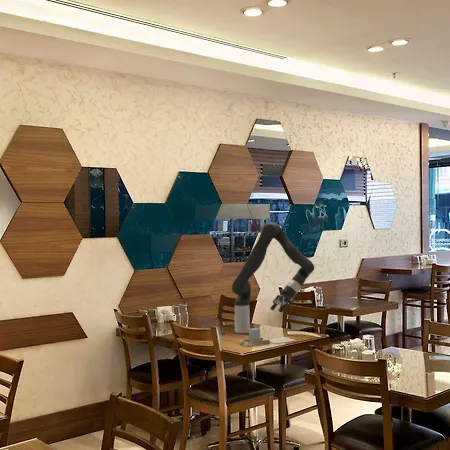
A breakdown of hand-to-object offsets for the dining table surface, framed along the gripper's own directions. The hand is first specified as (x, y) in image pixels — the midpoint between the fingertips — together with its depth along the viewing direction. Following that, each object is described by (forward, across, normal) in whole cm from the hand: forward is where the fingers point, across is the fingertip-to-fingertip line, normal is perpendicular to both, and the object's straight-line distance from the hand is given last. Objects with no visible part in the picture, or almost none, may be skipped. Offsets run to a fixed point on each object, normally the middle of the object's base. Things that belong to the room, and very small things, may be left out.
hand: (275, 310), depth 336 cm
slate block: (+23, 0, +2) cm, 23 cm away
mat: (+11, 0, +14) cm, 18 cm away
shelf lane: (+23, 0, +2) cm, 23 cm away
